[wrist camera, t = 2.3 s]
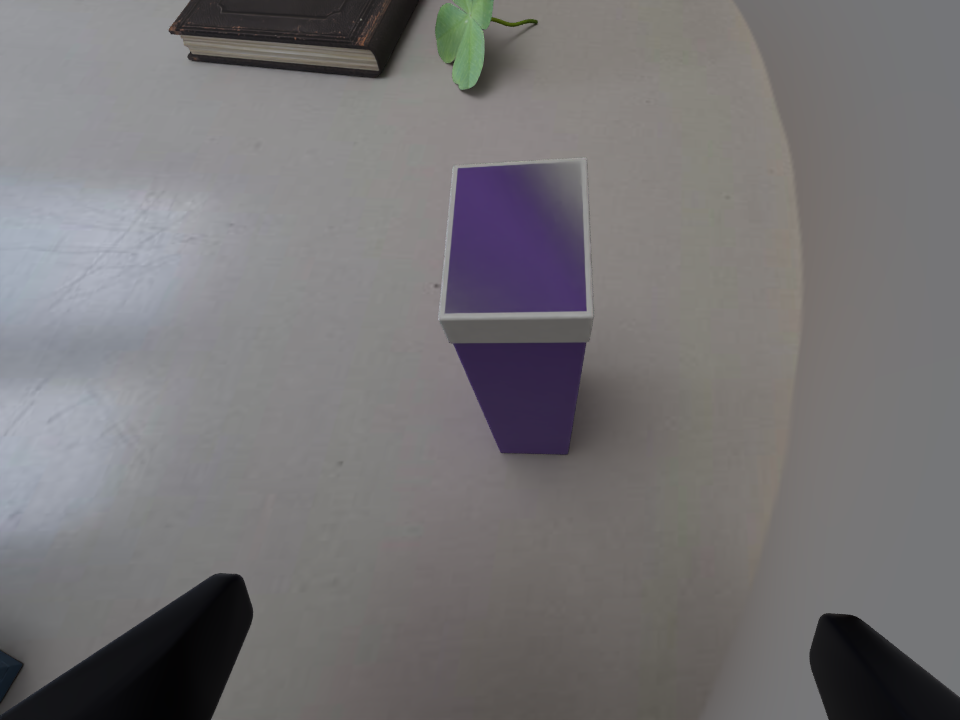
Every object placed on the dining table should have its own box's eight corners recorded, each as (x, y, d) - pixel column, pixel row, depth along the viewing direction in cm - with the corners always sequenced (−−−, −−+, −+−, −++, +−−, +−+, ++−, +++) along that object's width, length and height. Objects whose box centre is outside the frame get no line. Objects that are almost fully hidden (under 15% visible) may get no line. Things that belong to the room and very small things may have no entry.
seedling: (509, 111, 37) (435, 106, 33) (496, -10, 35) (416, -30, 31) (581, 77, 31) (502, 67, 27) (570, -70, 29) (484, -102, 25)
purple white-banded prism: (569, 456, 21) (594, 317, 9) (498, 454, 22) (437, 319, 10) (567, 368, 23) (587, 155, 11) (502, 368, 23) (452, 164, 11)
